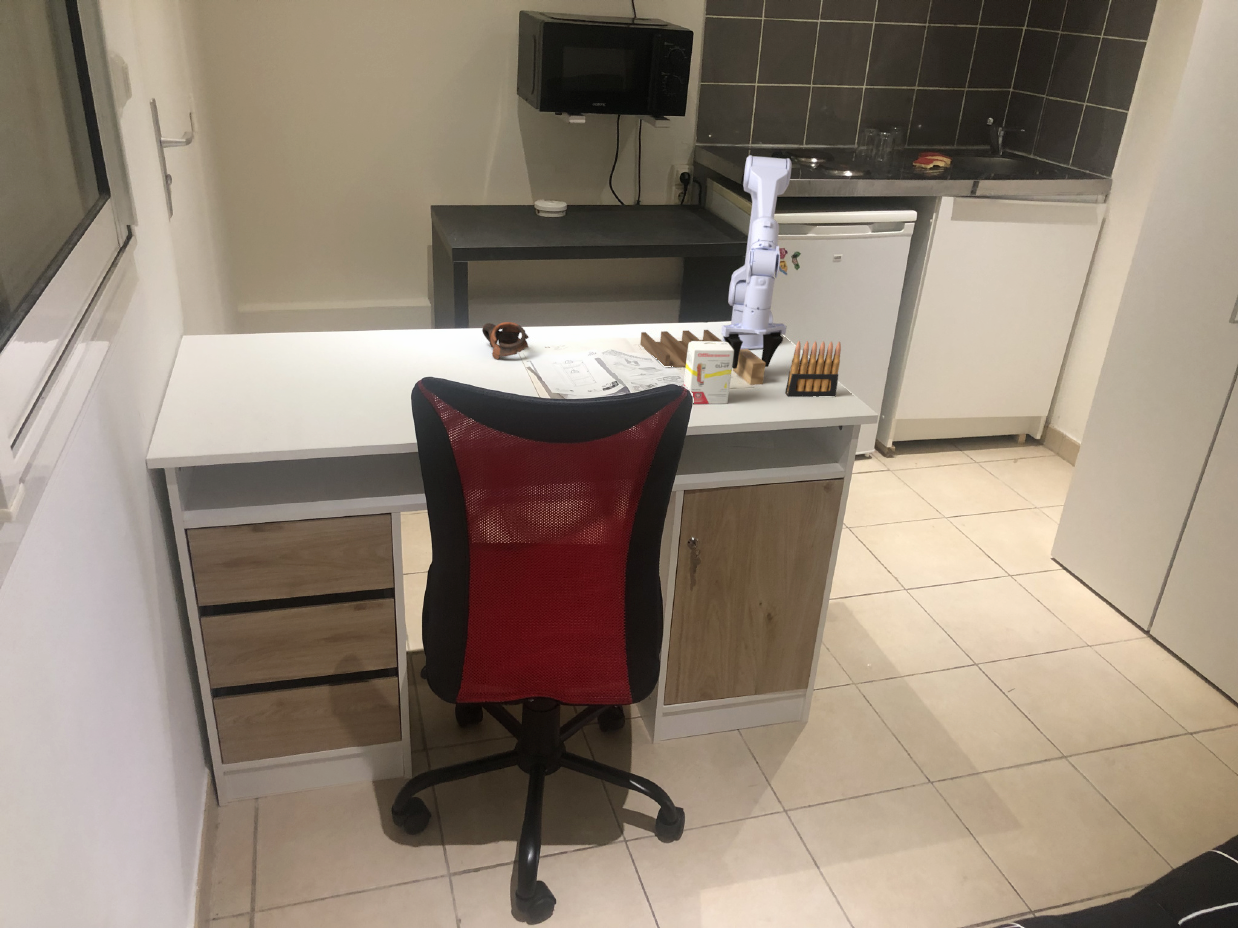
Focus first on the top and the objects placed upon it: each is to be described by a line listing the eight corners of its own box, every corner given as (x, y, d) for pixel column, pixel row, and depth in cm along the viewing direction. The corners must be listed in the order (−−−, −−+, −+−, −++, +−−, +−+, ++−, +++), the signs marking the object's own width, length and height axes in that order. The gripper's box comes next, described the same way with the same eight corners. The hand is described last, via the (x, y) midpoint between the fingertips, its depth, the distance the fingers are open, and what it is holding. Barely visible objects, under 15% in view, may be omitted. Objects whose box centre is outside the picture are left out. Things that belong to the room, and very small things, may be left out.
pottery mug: (537, 353, 215) (537, 328, 208) (513, 380, 210) (513, 356, 203) (493, 330, 218) (491, 305, 211) (468, 356, 213) (466, 332, 206)
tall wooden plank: (745, 370, 213) (747, 349, 211) (762, 384, 205) (765, 363, 203) (732, 370, 212) (735, 349, 210) (750, 385, 204) (753, 363, 202)
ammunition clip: (832, 393, 203) (842, 340, 198) (835, 396, 201) (845, 343, 196) (784, 393, 201) (793, 339, 196) (787, 396, 200) (796, 342, 194)
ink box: (687, 404, 191) (693, 349, 186) (681, 395, 196) (687, 341, 191) (728, 404, 193) (735, 349, 188) (721, 395, 198) (728, 341, 192)
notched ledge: (706, 341, 229) (707, 329, 228) (734, 364, 215) (735, 351, 214) (640, 344, 224) (641, 332, 222) (664, 368, 210) (665, 355, 209)
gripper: (734, 312, 196) (726, 374, 202) (796, 310, 200) (787, 371, 206) (720, 302, 202) (713, 363, 208) (781, 301, 206) (772, 360, 212)
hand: (749, 366), depth 207 cm, fingers open, 7 cm apart
